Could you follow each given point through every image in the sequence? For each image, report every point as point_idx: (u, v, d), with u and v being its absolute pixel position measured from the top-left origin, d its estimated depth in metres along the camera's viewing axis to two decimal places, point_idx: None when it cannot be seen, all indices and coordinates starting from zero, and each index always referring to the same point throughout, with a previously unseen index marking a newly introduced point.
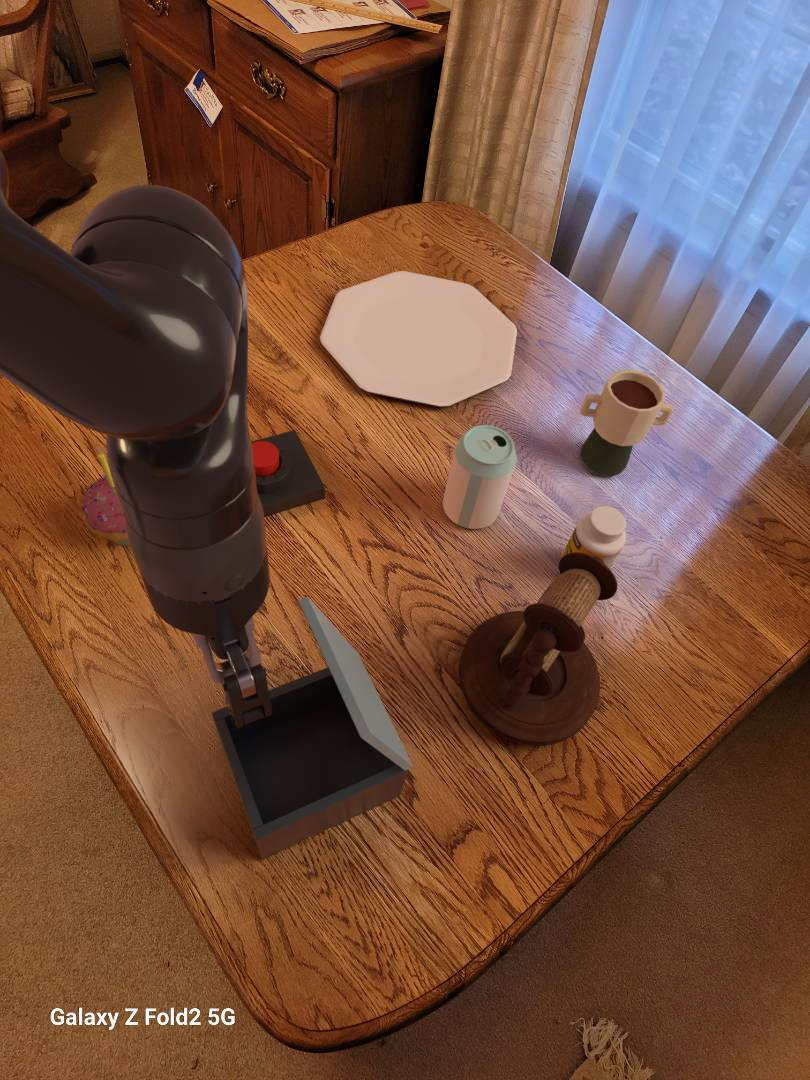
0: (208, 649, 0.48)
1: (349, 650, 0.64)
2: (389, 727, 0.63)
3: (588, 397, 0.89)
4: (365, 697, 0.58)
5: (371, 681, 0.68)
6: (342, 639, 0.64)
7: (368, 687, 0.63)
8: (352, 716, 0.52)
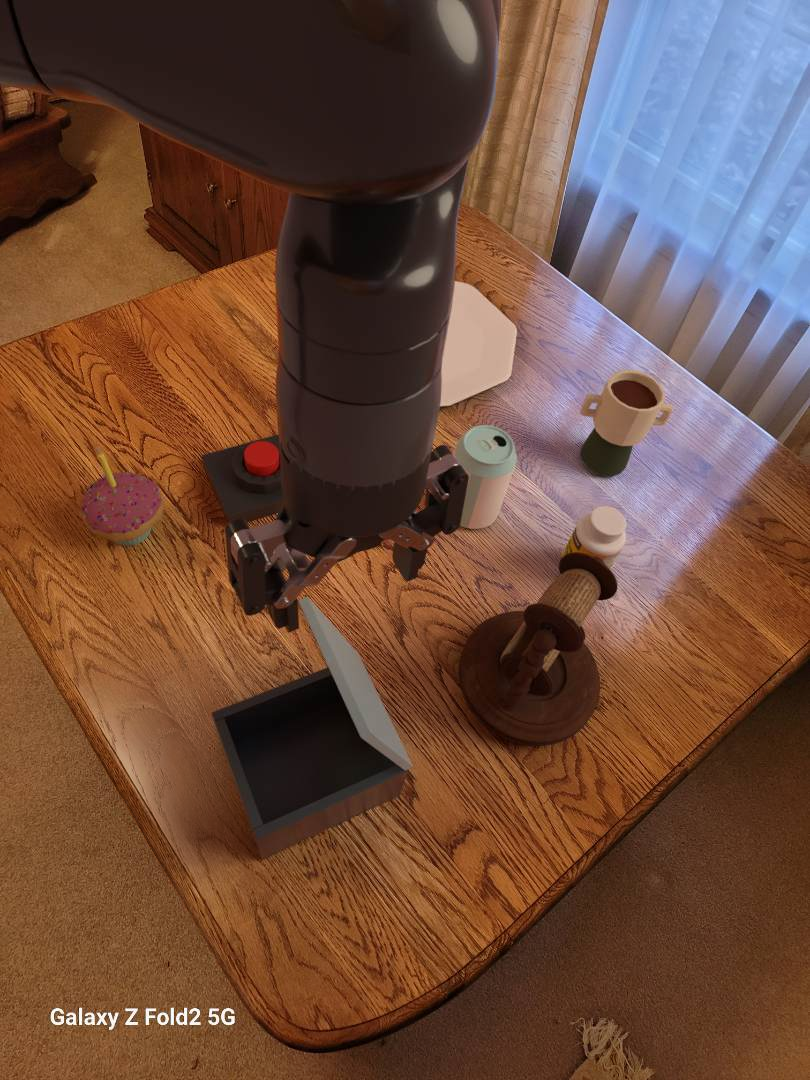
0: None
1: (349, 650, 0.64)
2: (389, 727, 0.63)
3: (588, 397, 0.89)
4: (365, 697, 0.58)
5: (371, 681, 0.68)
6: (342, 639, 0.64)
7: (368, 687, 0.63)
8: (352, 716, 0.52)
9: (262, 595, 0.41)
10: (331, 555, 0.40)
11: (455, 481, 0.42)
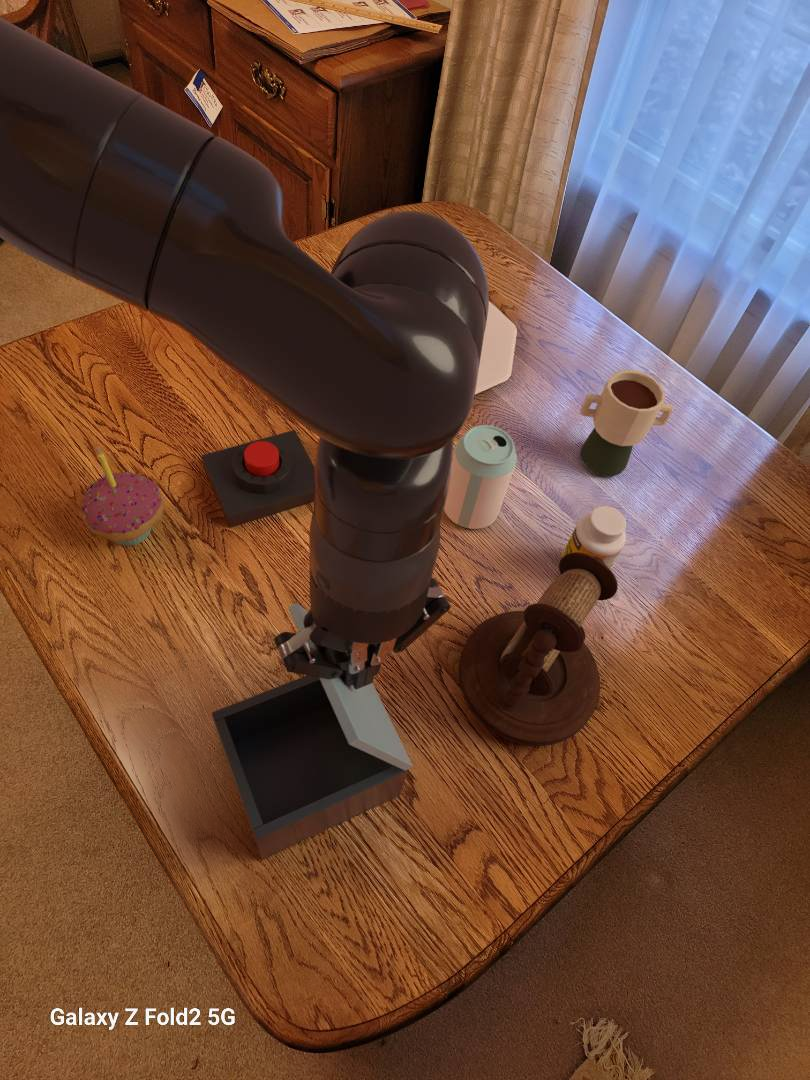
0: None
1: None
2: (387, 728, 0.63)
3: (588, 397, 0.89)
4: (358, 701, 0.58)
5: None
6: None
7: (365, 689, 0.63)
8: (340, 723, 0.52)
9: (330, 669, 0.52)
10: (352, 652, 0.49)
11: (442, 608, 0.52)
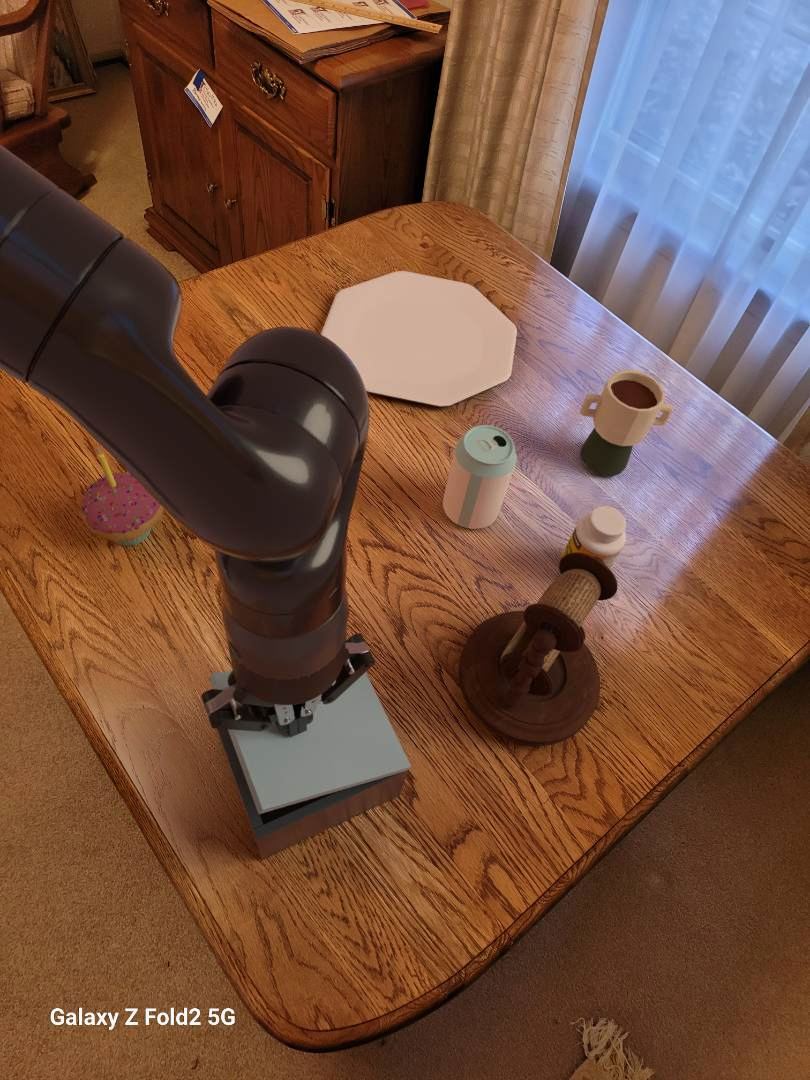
0: None
1: None
2: (366, 743, 0.63)
3: (588, 397, 0.89)
4: (303, 742, 0.60)
5: (366, 683, 0.68)
6: None
7: (338, 708, 0.64)
8: (251, 793, 0.56)
9: (258, 723, 0.54)
10: (276, 709, 0.51)
11: (366, 663, 0.54)
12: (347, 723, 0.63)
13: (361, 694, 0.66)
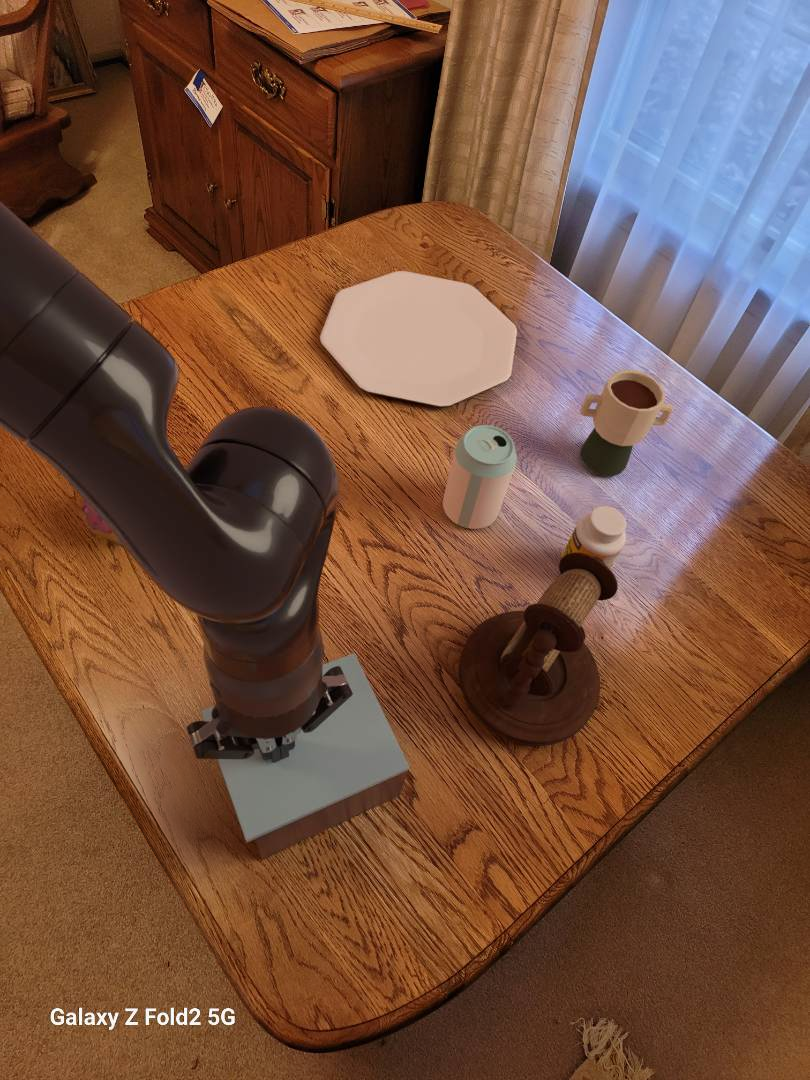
0: None
1: None
2: (359, 751, 0.64)
3: (588, 397, 0.89)
4: (291, 763, 0.63)
5: (364, 684, 0.68)
6: None
7: (330, 719, 0.65)
8: None
9: (241, 752, 0.57)
10: (257, 740, 0.54)
11: (344, 695, 0.57)
12: (340, 733, 0.65)
13: (357, 698, 0.67)
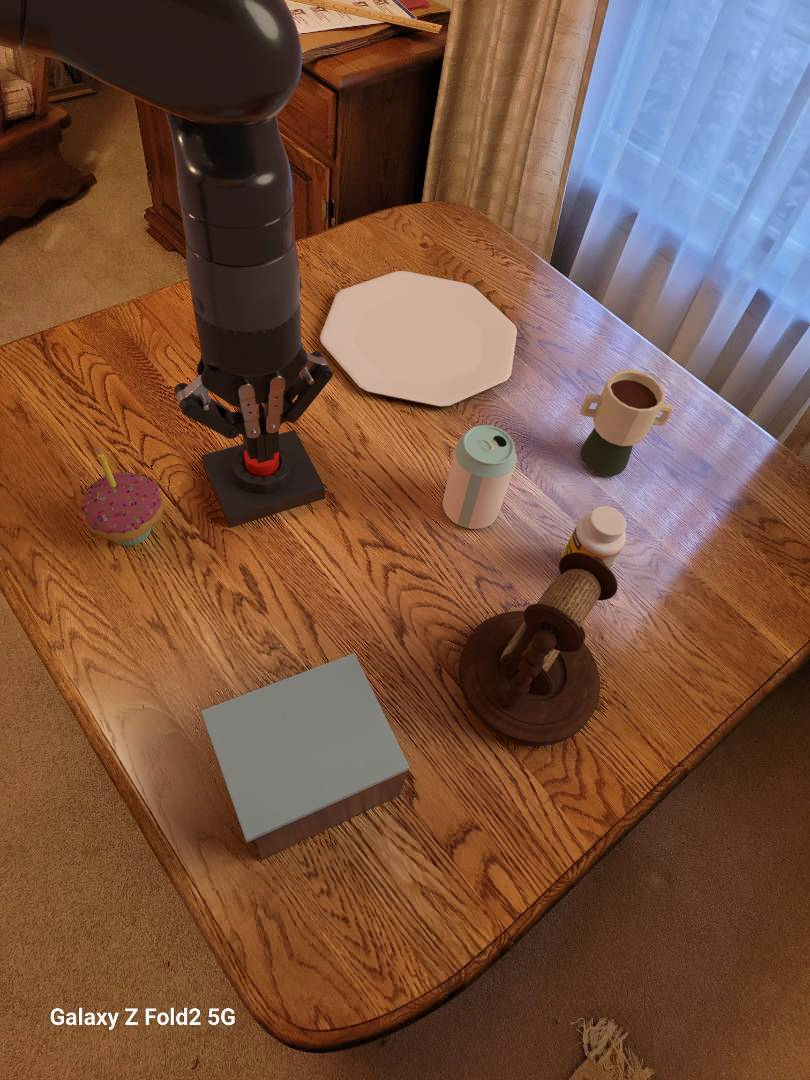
0: None
1: (307, 688, 0.67)
2: (359, 751, 0.64)
3: (588, 397, 0.89)
4: (291, 763, 0.63)
5: (364, 684, 0.68)
6: (292, 686, 0.67)
7: (330, 719, 0.65)
8: None
9: (226, 424, 0.60)
10: (240, 399, 0.57)
11: (324, 373, 0.60)
12: (339, 733, 0.65)
13: (357, 698, 0.67)
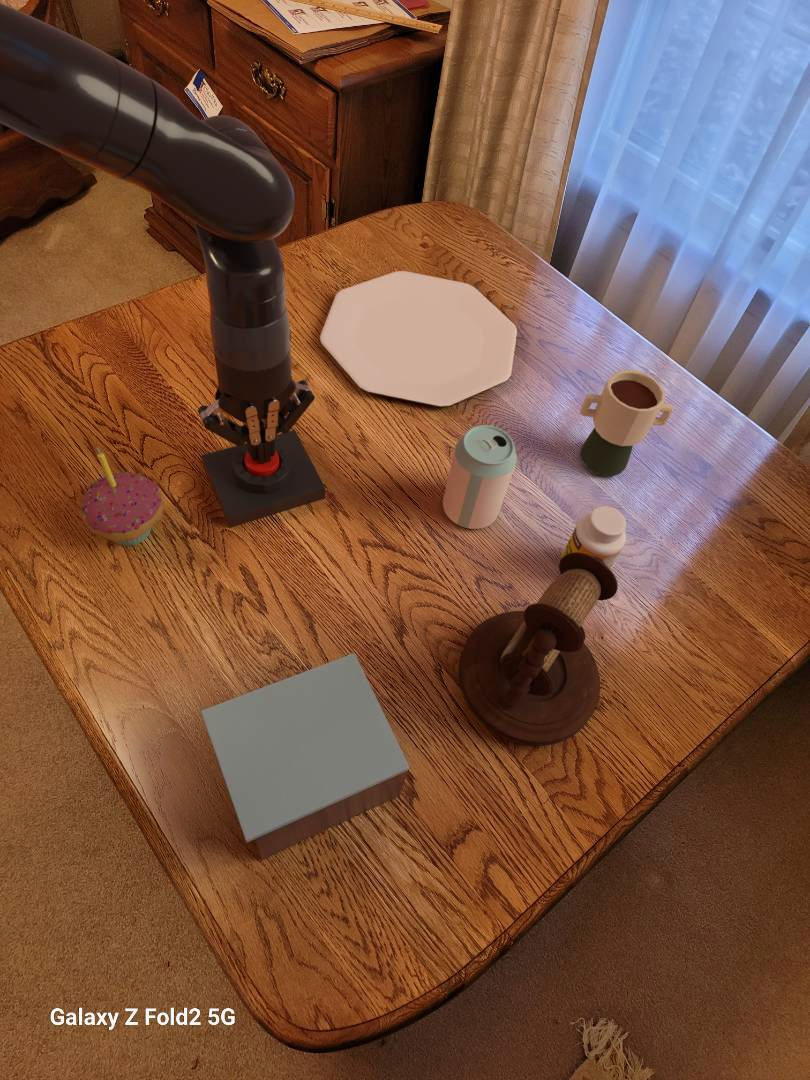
0: None
1: (307, 688, 0.67)
2: (359, 751, 0.64)
3: (588, 397, 0.89)
4: (291, 763, 0.63)
5: (364, 684, 0.68)
6: (292, 686, 0.67)
7: (330, 719, 0.65)
8: None
9: (236, 435, 0.81)
10: (247, 417, 0.78)
11: (308, 396, 0.81)
12: (339, 733, 0.65)
13: (357, 698, 0.67)
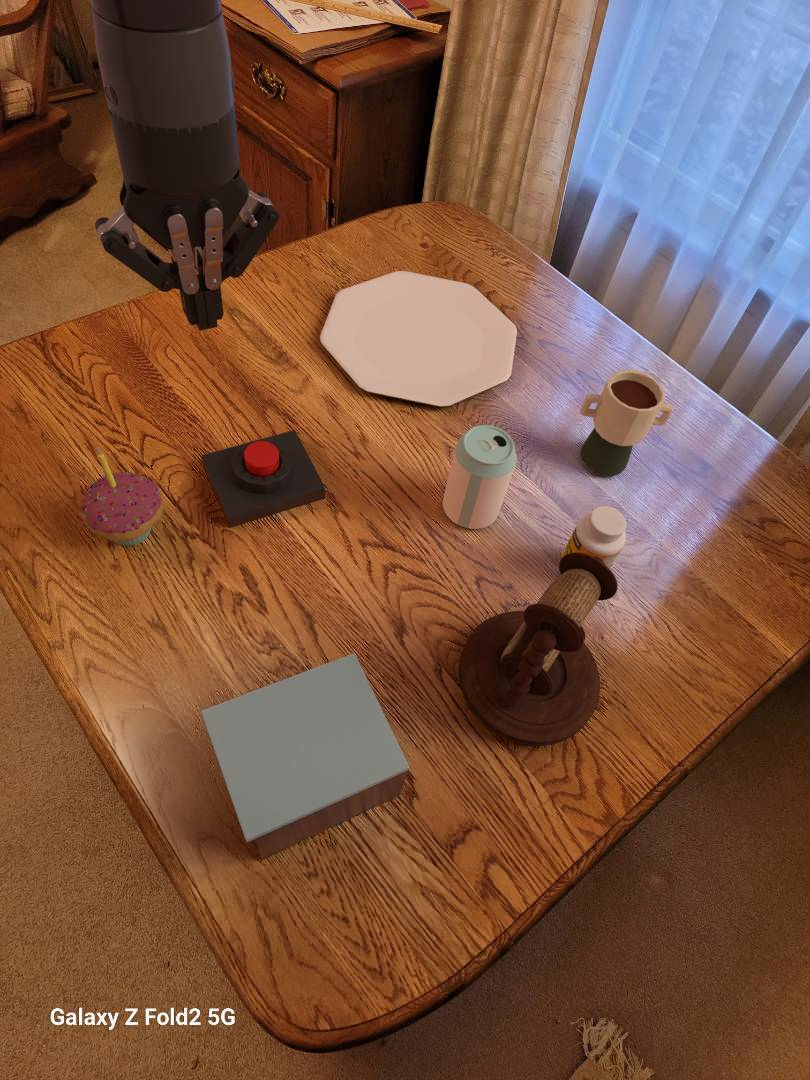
0: None
1: (307, 688, 0.67)
2: (359, 751, 0.64)
3: (588, 397, 0.89)
4: (291, 763, 0.63)
5: (364, 684, 0.68)
6: (292, 686, 0.67)
7: (330, 719, 0.65)
8: None
9: (158, 271, 0.52)
10: (171, 235, 0.50)
11: (269, 213, 0.53)
12: (339, 733, 0.65)
13: (357, 698, 0.67)
